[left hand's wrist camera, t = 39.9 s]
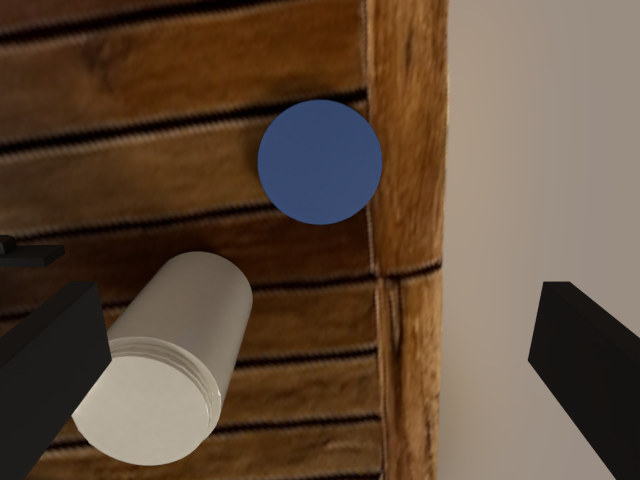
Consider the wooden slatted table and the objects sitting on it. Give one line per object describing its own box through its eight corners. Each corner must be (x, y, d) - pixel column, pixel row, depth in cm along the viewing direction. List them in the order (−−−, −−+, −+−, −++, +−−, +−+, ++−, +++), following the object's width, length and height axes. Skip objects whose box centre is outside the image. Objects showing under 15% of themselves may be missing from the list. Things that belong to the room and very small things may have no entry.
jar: (201, 231, 40) (131, 319, 25) (273, 302, 43) (248, 420, 28) (131, 292, 43) (29, 407, 28) (204, 356, 45) (146, 493, 30)
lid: (341, 238, 41) (342, 244, 39) (239, 184, 39) (236, 189, 37) (403, 138, 37) (406, 140, 36) (295, 74, 36) (294, 74, 34)
